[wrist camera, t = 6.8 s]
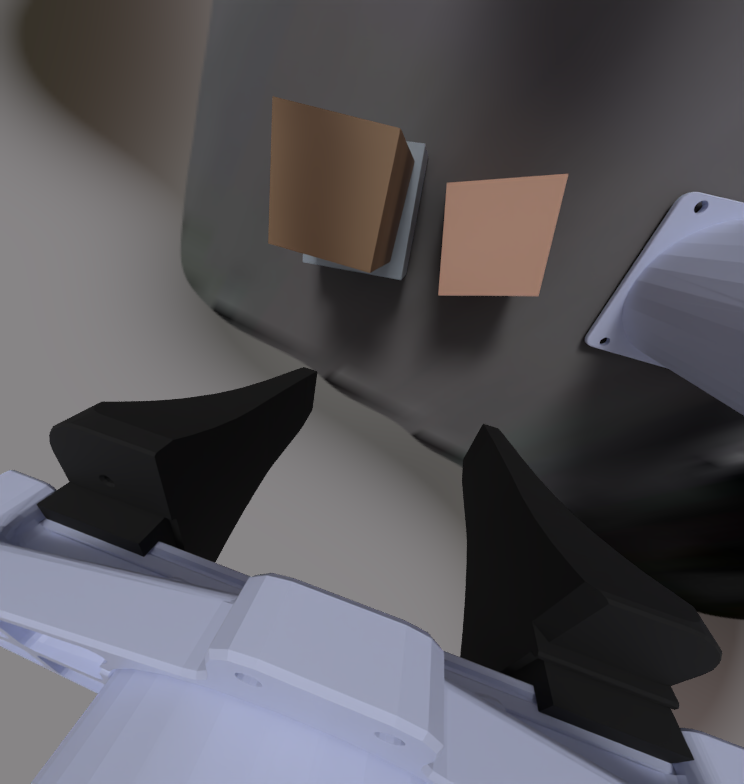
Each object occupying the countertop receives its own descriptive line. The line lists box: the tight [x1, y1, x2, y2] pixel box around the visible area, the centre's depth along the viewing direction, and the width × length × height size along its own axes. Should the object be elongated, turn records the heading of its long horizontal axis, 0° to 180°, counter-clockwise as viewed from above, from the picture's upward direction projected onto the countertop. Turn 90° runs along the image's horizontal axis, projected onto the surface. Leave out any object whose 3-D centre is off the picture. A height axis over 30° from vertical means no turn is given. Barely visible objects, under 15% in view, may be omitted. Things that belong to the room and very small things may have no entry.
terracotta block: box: [438, 174, 568, 296], centre depth 14 cm, size 4×4×5 cm
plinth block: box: [303, 141, 428, 280], centre depth 16 cm, size 6×6×3 cm
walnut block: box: [268, 97, 415, 273], centre depth 13 cm, size 4×4×5 cm
